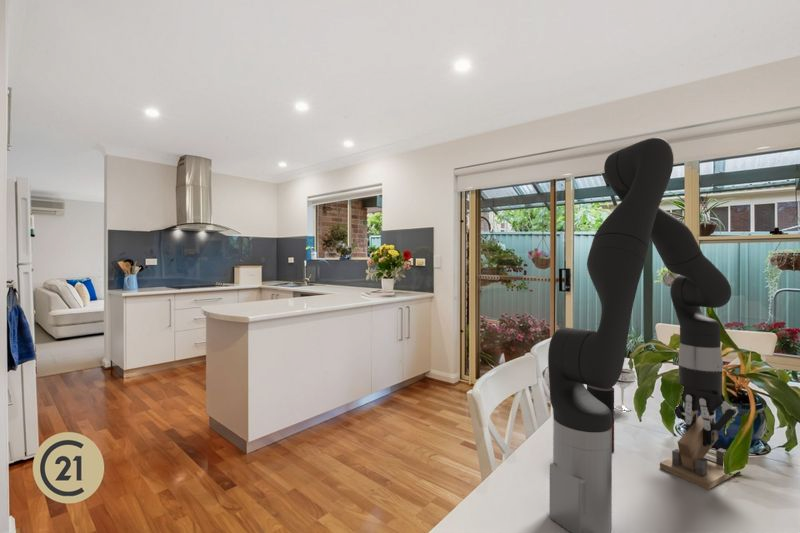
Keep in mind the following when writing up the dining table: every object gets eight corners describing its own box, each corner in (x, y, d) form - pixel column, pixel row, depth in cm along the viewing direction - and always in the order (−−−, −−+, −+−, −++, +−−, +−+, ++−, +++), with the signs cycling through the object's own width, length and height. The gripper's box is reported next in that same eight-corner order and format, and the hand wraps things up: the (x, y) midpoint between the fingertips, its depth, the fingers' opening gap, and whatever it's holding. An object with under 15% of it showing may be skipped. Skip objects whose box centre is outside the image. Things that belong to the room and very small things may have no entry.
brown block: (696, 471, 78) (691, 447, 77) (682, 465, 80) (677, 442, 79) (721, 438, 83) (716, 415, 82) (707, 434, 86) (703, 411, 85)
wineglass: (640, 410, 116) (640, 372, 116) (625, 413, 113) (625, 374, 113) (619, 403, 122) (619, 366, 122) (605, 406, 119) (605, 368, 119)
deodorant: (586, 450, 90) (586, 388, 90) (587, 440, 95) (587, 381, 95) (614, 456, 87) (614, 392, 87) (613, 445, 93) (613, 385, 93)
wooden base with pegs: (709, 489, 74) (709, 468, 74) (660, 467, 82) (660, 448, 82) (740, 471, 81) (740, 452, 81) (692, 453, 89) (692, 435, 89)
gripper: (656, 360, 86) (657, 434, 86) (731, 375, 74) (731, 462, 74) (673, 356, 90) (674, 427, 90) (747, 370, 78) (748, 453, 78)
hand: (700, 443), depth 82 cm, fingers closed on brown block, 2 cm apart
